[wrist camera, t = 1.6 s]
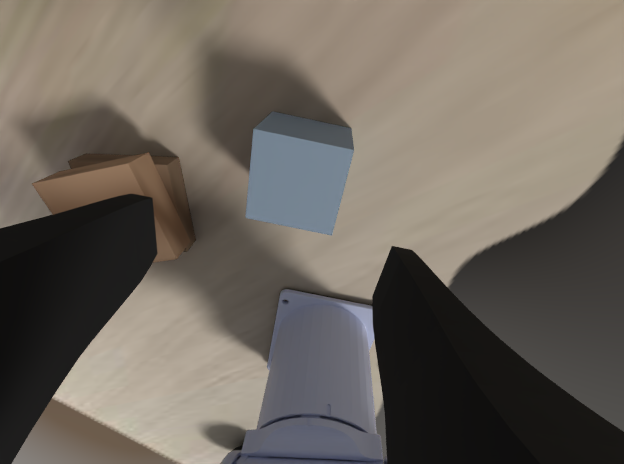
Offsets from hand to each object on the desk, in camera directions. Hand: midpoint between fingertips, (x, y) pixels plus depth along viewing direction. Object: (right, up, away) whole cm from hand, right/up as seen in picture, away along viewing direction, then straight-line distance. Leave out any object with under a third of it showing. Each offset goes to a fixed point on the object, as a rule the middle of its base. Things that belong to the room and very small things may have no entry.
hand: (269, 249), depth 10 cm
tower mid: (-10, +2, +10) cm, 15 cm away
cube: (+1, +5, +9) cm, 11 cm away
